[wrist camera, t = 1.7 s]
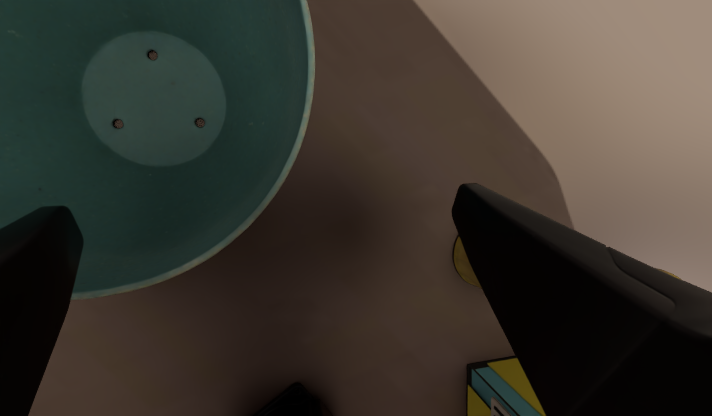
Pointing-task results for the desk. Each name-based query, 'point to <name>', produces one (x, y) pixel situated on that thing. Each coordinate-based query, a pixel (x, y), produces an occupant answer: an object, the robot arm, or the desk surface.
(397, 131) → the desk surface
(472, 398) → the carton
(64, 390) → the desk surface
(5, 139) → the teal bowl
